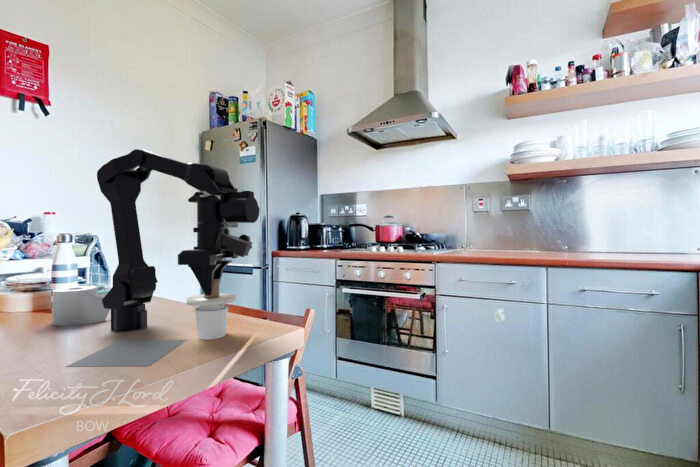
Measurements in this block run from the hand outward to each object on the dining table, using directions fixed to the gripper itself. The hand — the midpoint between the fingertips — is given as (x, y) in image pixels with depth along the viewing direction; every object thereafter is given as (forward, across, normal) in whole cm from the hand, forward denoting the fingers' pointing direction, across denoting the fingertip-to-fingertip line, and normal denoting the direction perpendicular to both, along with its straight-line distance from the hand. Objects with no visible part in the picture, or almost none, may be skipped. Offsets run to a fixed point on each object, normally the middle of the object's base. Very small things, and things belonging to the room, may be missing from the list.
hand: (211, 293), depth 75 cm
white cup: (+10, 0, 0) cm, 10 cm away
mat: (+10, -10, +11) cm, 18 cm away
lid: (+2, 0, 0) cm, 2 cm away
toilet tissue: (+10, +16, +41) cm, 45 cm away
